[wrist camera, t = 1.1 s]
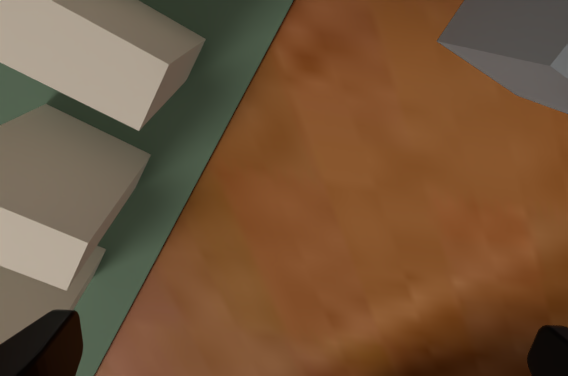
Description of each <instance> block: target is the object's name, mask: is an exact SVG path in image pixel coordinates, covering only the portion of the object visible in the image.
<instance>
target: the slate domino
mask: <svg viewBox="0 0 568 376" xmlns="http://www.w3.org/2000/svg"><path fill="white" fill-rule="evenodd" d="M437 42H439V43H440V44H442V45H443V46H445V47H446V48H448V49H449V50H450V51H452V52H453V53H455V54H456V55H458V56H459V57H461V58H462V59H464V60H465V61H467V62H468V63H470V64H471V65H473V66H474V67H476V68H477V69H479V70H480V71H482V72H483V73H484V74H486V75H487V76H489V77H490V78H492V79H493V80H495V81H496V82H498V83H499V84H501V85H502V86H504V87H505V88H507V89H508V90H510V91H511V92H513V93H514V94H516V95H517V96H520V97H522V98H525V99H528V100H531V101H534V102H536V103H539V104H542V105H545V106H547V107H550V108H553V109H556V110H558V111H561V112H564V113H567V114H568V0H464V2H463V3H462V5H461V6H460V8H459V9H458V10H457V12H456V13H455V15H454V16H453V18H452V19H451V21H450V22H449V24H448V25H447V27H446V28H445V30H444V31H443V33H442V34H441V36H440V37H439V39H438V40H437Z"/></svg>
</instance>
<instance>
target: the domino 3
mask: <svg viewBox="0 0 568 376" xmlns="http://www.w3.org/2000/svg"><path fill="white" fill-rule="evenodd" d="M105 251H106V249H104V248H102V247H100V246H96V248H95V249H94V251H93V252H92V254H91V255H90V257H89V258H88V260H87V261H86V263H85V264H84V266H83V267H82V269H81V270H80V272H79V273H78V275H77V276H76V278H75V279H74V281H73V282H72V284H71V285H70V287H69V288H68V290H67V291H66V290H63V289H60V288H58V287H55V286H53V285H50V284H47V283H45V282H42V281H39V280H37V279H34V278H31V277H29V276H26V275H23V274H21V273H18V272H15V271H13V270H10V269H8V268H5V267H2V266H0V344H1V343H3V342H4V341H6V340H7V339H9V338H10V337H12V336H13V335H15V334H16V333H18V332H19V331H21V330H22V329H24V328H25V327H27V326H28V325H30V324H31V323H33V322H35V321H36V320H38V319H39V318H41V317H42V316H44V315H45V314H47V313H48V312H50V311H52V310H55V309H66V310H73V309H74V308H75V306H76V304H77V303H78V301H79V299H80V298H81V296H82V295H83V293H84V291H85V290H86V288H87V286H88V285H89V283H90V281H91V280H92V278H93V276H94V274H95V272H96V270H97V268H98V266H99V263H100V261H101V259H102V257H103V255H104V253H105Z"/></svg>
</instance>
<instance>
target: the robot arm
mask: <svg viewBox="0 0 568 376" xmlns="http://www.w3.org/2000/svg"><path fill="white" fill-rule="evenodd" d="M82 353H83V338H82V331H81V324H80V317H79V314H78V312H77V311H75V310H66V309H55V310H52V311H50V312H48V313H47V314H45V315H44V316H42V317H41V318H39V319H38V320H36V321H35V322H33V323H31V324H30V325H28V326H27V327H25V328H24V329H22V330H21V331H19V332H18V333H16V334H15V335H13V336H12V337H10V338H9V339H7V340H6V341H4V342H3V343H1V344H0V376H75V375H76V372H77V369H78V366H79V363H80V360H81V357H82ZM527 362H528V367H529V370H530V372H531V374H532V376H568V328H567V327H564V326H557V325H545V326H542V327H541V328H540V329H539V330H538V332H537V335H536V337H535V339H534V341H533V344H532V346H531V348H530V351H529V353H528V357H527Z"/></svg>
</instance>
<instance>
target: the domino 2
mask: <svg viewBox="0 0 568 376" xmlns="http://www.w3.org/2000/svg"><path fill="white" fill-rule="evenodd" d="M150 156H151V154H149V153H147V152H145V151H143V150H140V149H138V148H136V147H134V146H132V145H130V144H128V143H126V142H124V141H122V140H120V139H118V138H116V137H114V136H112V135H109V134H107V133H105V132H103V131H101V130H99V129H97V128H95V127H93V126H91V125H89V124H87V123H85V122H83V121H80V120H78V119H76V118H74V117H72V116H70V115H68V114H66V113H64V112H62V111H60V110H58V109H56V108H54V107H51V106H49V105H47V104H44V105H42V106H40V107H38V108H36V109H34V110H32V111H29V112H27V113H25V114H23V115H21V116H19V117H17V118H15V119H13V120H10V121H8V122H6V123H4V124H2V125H0V266H2V267H5V268H8V269H10V270H13V271H15V272H18V273H21V274H23V275H26V276H29V277H31V278H34V279H37V280H39V281H42V282H45V283H47V284H50V285H53V286H55V287H58V288H60V289H63V290H66V291H67V290H68V288H69V287H70V285H71V284H72V282H73V281H74V279H75V278H76V276H77V275H78V273H79V272H80V270H81V269H82V267H83V266H84V264H85V263H86V261H87V260H88V258H89V257H90V255H91V254H92V252H93V251H94V249H95V248H96V246H97V245H98V243H99V242H100V240H101V239H102V237H103V236H104V234H105V233H106V231H107V230H108V228H109V227H110V225H111V224H112V222H113V221H114V219H115V218H116V216H117V215H118V213H119V212H120V210H121V209H122V207H123V206H124V204H125V203H126V201H127V200H128V198H129V197H130V195H131V194H132V192H133V191H134V189H135V188H136V185H137V183H138V181H139V179H140V177H141V175H142V173H143V171H144V169H145V166H146V164H147V162H148V160H149V158H150Z"/></svg>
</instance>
